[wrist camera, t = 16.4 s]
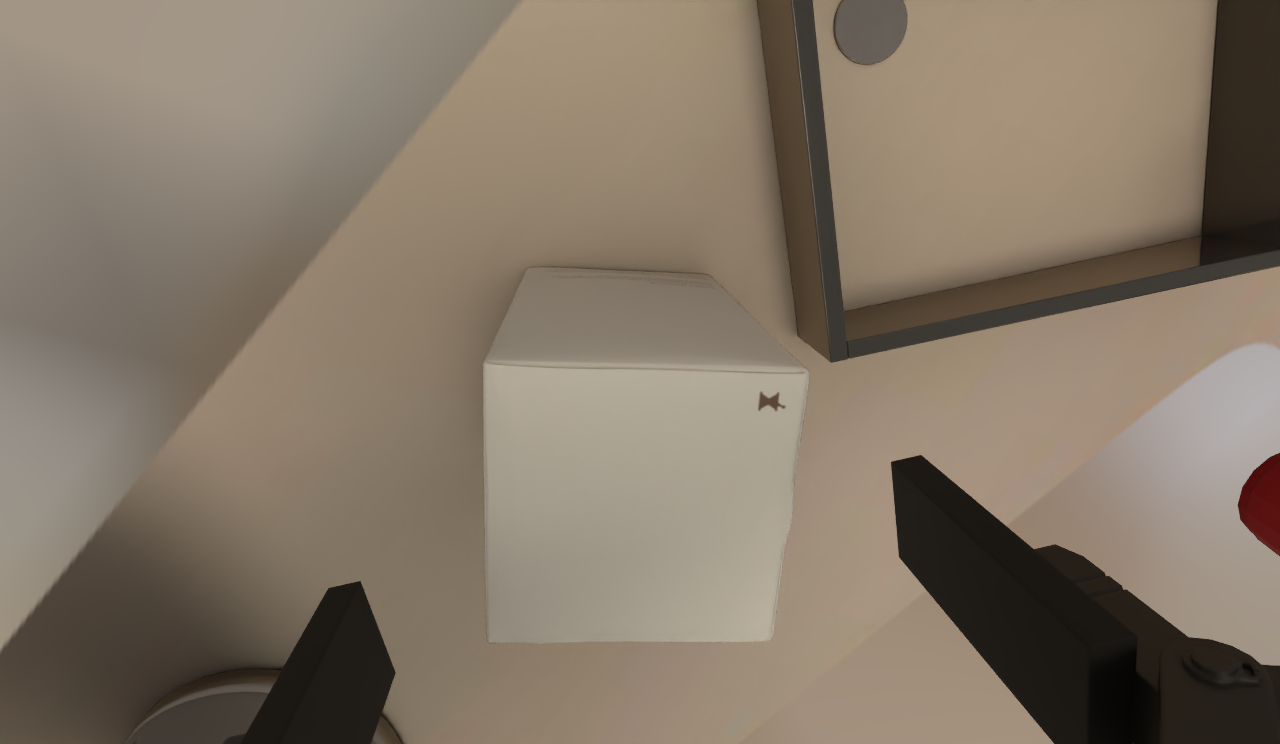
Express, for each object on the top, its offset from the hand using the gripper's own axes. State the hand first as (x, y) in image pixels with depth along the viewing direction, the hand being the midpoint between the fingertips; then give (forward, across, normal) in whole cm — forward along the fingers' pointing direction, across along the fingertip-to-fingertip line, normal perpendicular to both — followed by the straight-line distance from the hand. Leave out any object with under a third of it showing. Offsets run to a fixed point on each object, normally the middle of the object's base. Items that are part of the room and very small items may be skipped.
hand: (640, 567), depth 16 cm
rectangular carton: (+18, 0, 0) cm, 18 cm away
